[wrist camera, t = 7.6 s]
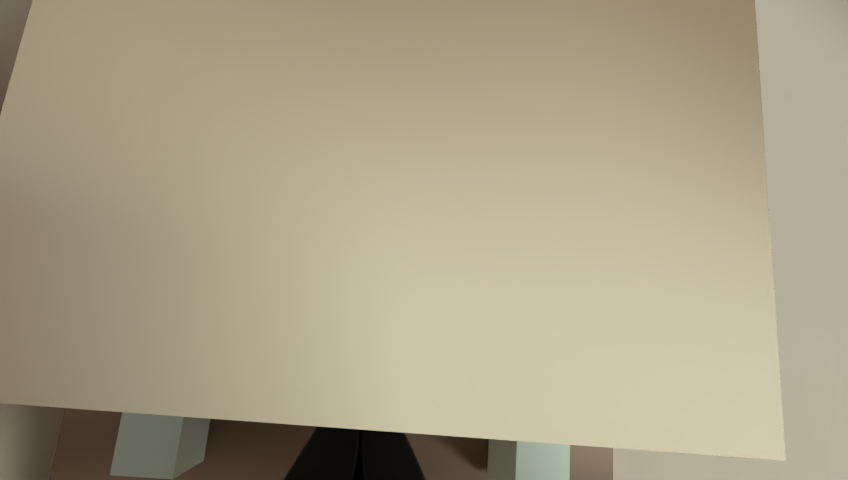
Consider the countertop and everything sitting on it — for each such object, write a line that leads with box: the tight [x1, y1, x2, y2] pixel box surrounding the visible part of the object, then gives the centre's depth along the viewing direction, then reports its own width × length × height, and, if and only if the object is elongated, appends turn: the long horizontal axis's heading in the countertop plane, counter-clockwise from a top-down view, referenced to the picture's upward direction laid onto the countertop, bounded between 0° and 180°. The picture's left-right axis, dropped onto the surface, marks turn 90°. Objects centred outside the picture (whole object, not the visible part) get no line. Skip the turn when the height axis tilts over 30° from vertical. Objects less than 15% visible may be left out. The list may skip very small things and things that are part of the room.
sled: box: [110, 412, 570, 480], centre depth 13 cm, size 8×9×5 cm
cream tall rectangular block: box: [0, 0, 786, 461], centre depth 10 cm, size 5×5×12 cm
